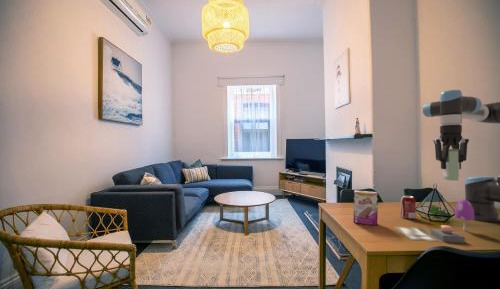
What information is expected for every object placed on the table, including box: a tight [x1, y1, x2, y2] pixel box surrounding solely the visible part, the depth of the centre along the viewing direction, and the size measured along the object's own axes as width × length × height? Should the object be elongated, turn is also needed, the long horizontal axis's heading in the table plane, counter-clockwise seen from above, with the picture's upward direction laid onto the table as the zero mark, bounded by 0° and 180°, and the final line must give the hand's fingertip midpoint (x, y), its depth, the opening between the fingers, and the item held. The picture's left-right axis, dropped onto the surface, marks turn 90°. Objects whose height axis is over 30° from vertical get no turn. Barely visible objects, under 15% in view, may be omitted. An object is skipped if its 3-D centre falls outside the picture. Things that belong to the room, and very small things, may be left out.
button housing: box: [430, 228, 466, 244], centre depth 99 cm, size 8×8×2 cm
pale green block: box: [443, 148, 460, 181], centre depth 105 cm, size 4×4×14 cm
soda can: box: [400, 195, 417, 220], centre depth 129 cm, size 7×7×12 cm
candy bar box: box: [353, 189, 379, 227], centre depth 120 cm, size 11×5×16 cm, turn 65°
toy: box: [454, 199, 475, 232], centre depth 108 cm, size 7×7×15 cm
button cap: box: [440, 224, 454, 234], centre depth 99 cm, size 4×4×4 cm
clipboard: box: [392, 226, 459, 244], centre depth 104 cm, size 20×16×1 cm
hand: (450, 176), depth 105 cm, fingers closed on pale green block, 4 cm apart
